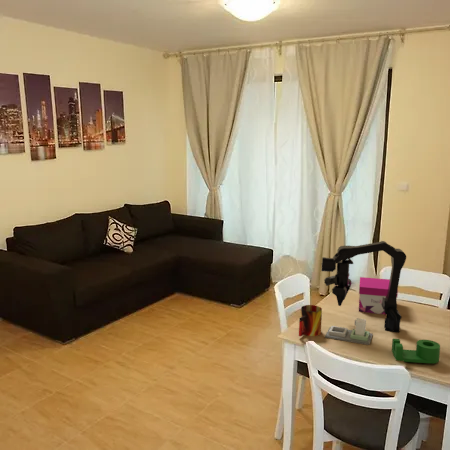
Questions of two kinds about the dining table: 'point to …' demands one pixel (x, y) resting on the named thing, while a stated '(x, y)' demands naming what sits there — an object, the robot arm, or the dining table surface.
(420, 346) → the green bracket
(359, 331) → the plug
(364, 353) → the dining table surface
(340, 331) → the panel
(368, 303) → the decorative box
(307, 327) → the mug
